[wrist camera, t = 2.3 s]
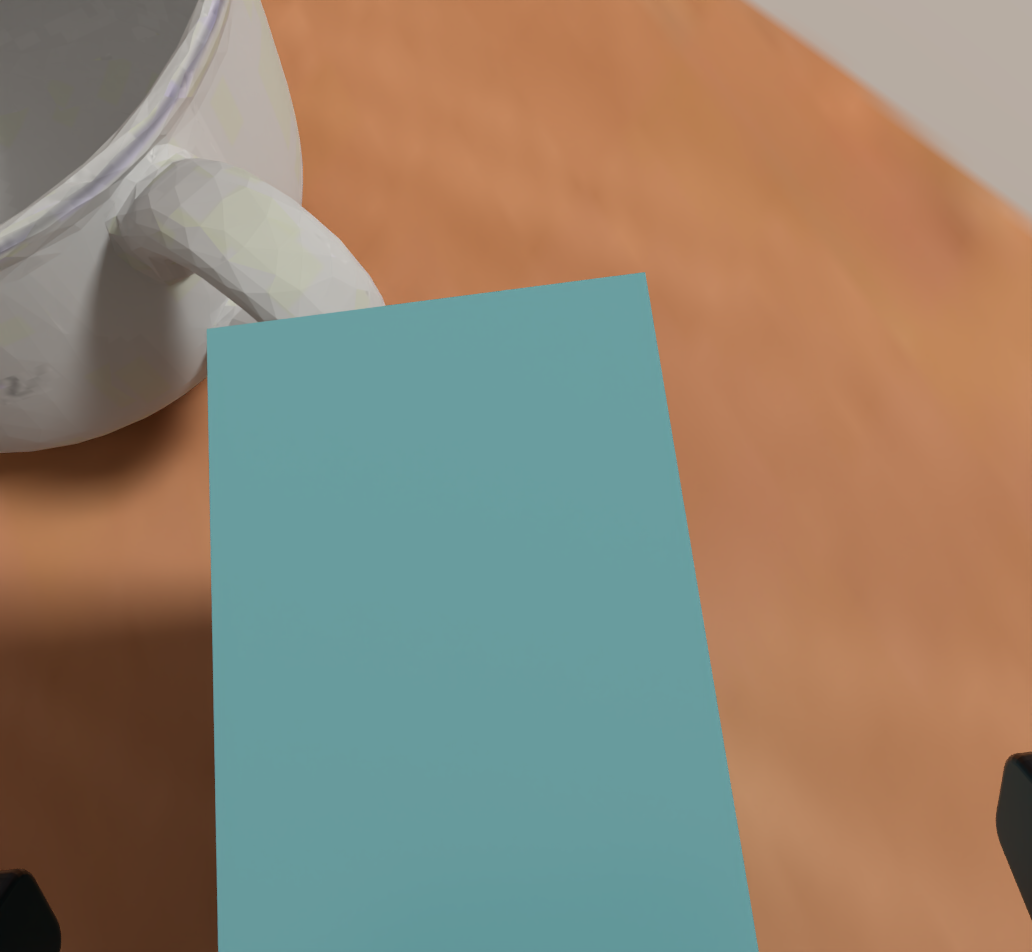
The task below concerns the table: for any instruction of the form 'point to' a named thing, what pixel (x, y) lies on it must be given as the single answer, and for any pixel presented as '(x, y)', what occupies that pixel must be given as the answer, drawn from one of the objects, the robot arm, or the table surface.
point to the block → (462, 636)
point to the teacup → (144, 207)
